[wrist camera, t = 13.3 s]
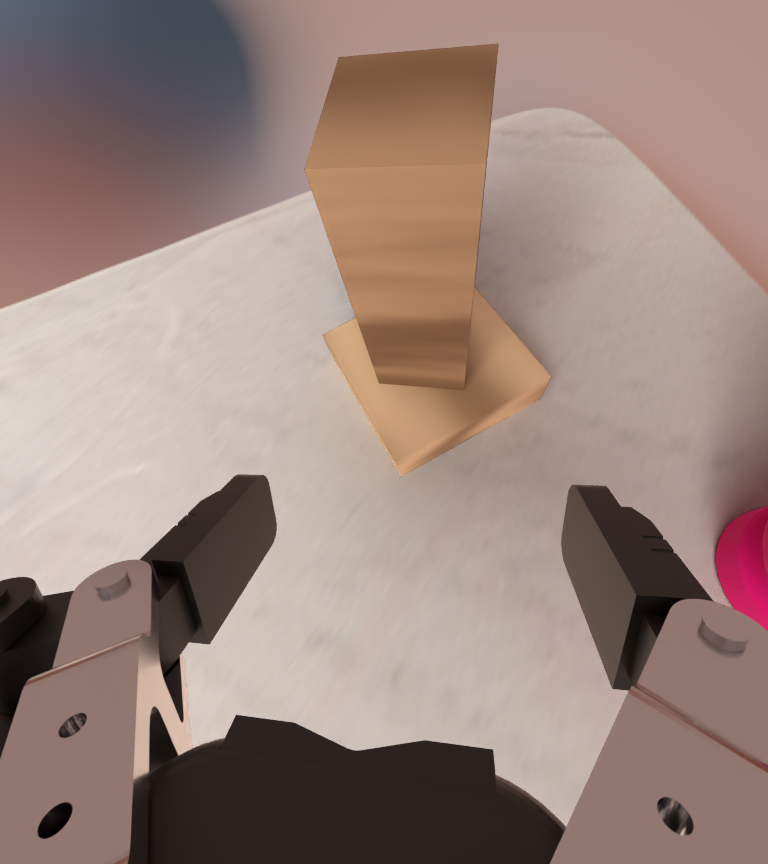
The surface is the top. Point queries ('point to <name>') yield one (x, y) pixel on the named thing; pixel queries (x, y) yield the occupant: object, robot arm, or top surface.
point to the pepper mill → (746, 564)
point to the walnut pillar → (407, 201)
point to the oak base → (442, 390)
